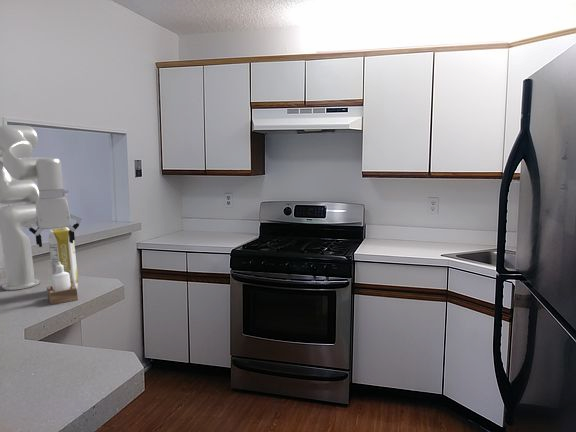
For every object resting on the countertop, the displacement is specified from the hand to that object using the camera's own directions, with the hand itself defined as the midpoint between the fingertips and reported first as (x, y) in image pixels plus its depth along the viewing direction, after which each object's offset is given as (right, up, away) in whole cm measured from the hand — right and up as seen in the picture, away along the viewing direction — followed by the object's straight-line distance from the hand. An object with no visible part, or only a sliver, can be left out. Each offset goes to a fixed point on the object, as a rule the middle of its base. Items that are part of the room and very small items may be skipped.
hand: (56, 244), depth 158 cm
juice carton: (-3, -18, +13) cm, 22 cm away
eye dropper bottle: (+1, -18, +2) cm, 18 cm away
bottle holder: (+1, -19, +2) cm, 19 cm away
